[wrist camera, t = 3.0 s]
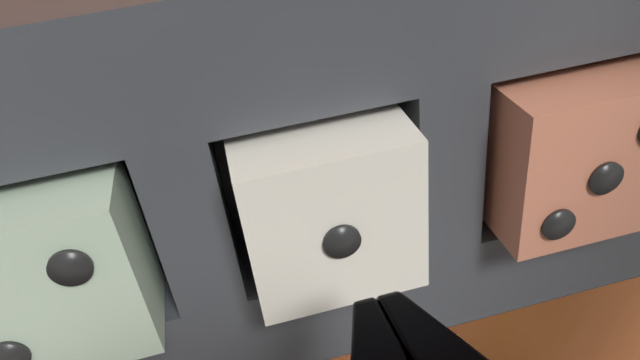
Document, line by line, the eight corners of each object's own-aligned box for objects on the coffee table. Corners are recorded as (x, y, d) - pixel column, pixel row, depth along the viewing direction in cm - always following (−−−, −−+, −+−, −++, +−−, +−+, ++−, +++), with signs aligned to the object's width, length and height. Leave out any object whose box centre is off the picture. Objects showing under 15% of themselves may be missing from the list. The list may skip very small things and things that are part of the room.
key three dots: (624, 43, 14) (707, 82, 11) (598, 174, 16) (664, 228, 14) (477, 73, 13) (536, 120, 11) (471, 205, 15) (519, 265, 13)
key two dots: (117, 146, 12) (108, 214, 10) (164, 277, 14) (164, 355, 12) (-73, 185, 11) (-124, 265, 9) (5, 316, 14) (-23, 404, 11)
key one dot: (387, 92, 13) (430, 143, 11) (393, 223, 15) (430, 287, 13) (220, 126, 12) (232, 187, 10) (251, 257, 14) (266, 330, 12)
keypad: (658, -117, 14) (768, -104, 11) (592, 213, 19) (656, 271, 17) (-206, 24, 11) (-313, 82, 9) (6, 358, 17) (-21, 453, 14)
